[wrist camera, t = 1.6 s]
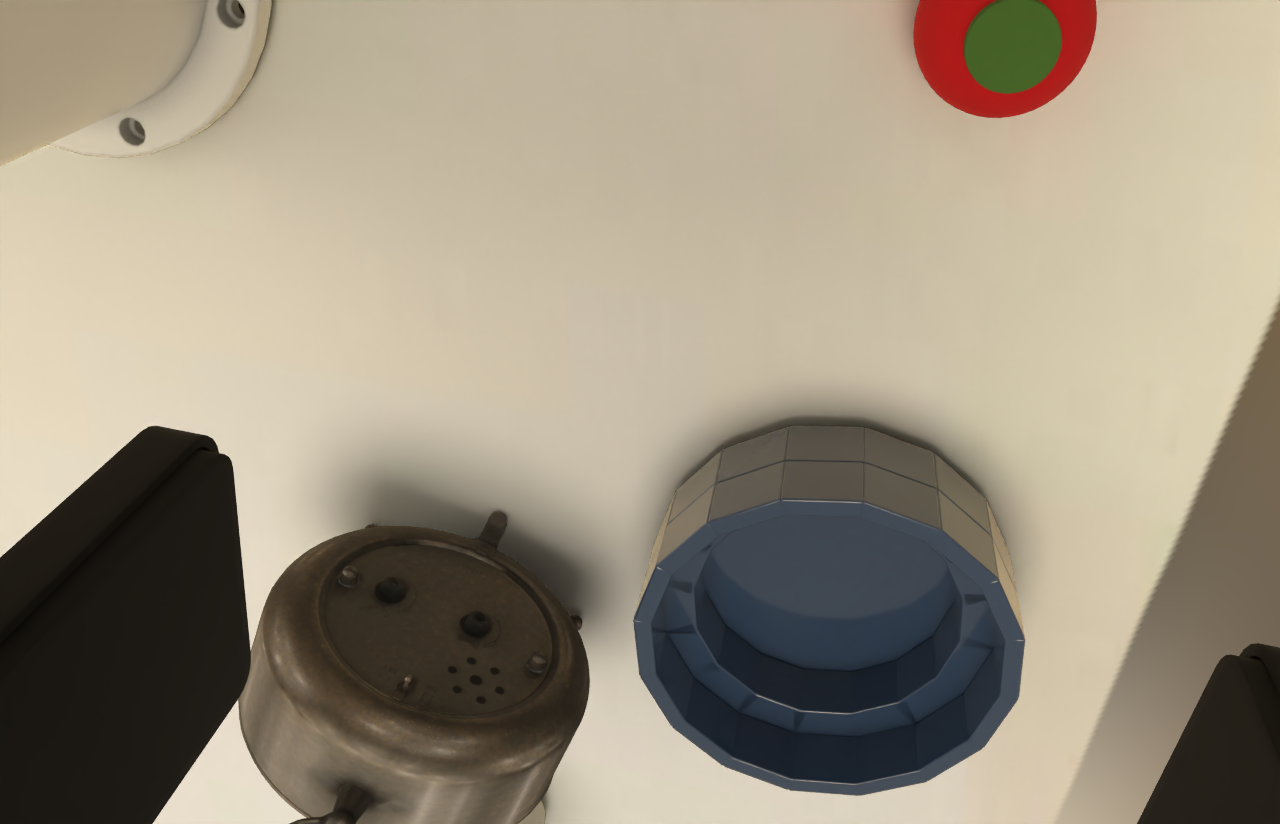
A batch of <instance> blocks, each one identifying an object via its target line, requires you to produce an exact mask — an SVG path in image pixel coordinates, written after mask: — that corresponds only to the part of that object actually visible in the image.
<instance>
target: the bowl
mask: <svg viewBox="0 0 1280 824" xmlns="http://www.w3.org/2000/svg"><path fill="white" fill-rule="evenodd" d="M633 622H634V631H635V640H636V649H637V658H638V667H639V675H640V676H641V679H642V680H643V682H644V683H645V685H646V687H647V688H648V690H649V691H650V693H651V695H652V696H653V698H654V699H655V701H656V703H657V704H658V706H659V707H660V709H661V711H662V712H663V714H664V715H665V717H666V719H667V720H668V722H669V723H670V725H671V726H672V727H673V728H674V729H675V730H676V731H678V732H679V733H680V734H682V735H683V736H684V737H686V738H687V739H688V740H690V741H691V742H692V743H693V744H695V745H696V746H697V747H699V748H700V749H701V750H703V751H704V752H705V753H707V754H708V755H709V756H711V757H712V758H713V759H715V760H716V761H717V762H718V763H720V764H721V765H723V766H725V767H727V768H729V769H732V770H735V771H738V772H740V773H743V774H746V775H749V776H751V777H754V778H757V779H759V780H762V781H765V782H768V783H770V784H773V785H776V786H779V787H781V788H784V789H787V790H788V789H789V790H791V791H804V792H816V793H829V794H842V795H855V796H858V795H860V796H861V795H866V794H871V793H876V792H881V791H885V790H890V789H895V788H900V787H905V786H909V785H914V784H919V783H924V782H927V781H929V780H931V779H932V778H934V777H936V776H937V775H939V774H941V773H942V772H944V771H946V770H947V769H949V768H951V767H952V766H954V765H956V764H958V763H959V762H961V761H963V760H964V759H966V758H968V757H969V756H971V755H973V754H974V753H976V752H978V751H979V750H981V749H982V748H983V747H985V745H986V744H987V742H988V741H989V740H990V738H991V737H992V735H993V734H994V733H995V731H996V730H997V728H998V727H999V726H1000V724H1001V723H1002V721H1003V720H1004V719H1005V717H1006V716H1007V714H1008V713H1009V711H1010V710H1011V709H1012V707H1013V706H1014V704H1015V703H1016V702H1017V700H1018V697H1019V693H1020V684H1021V674H1022V665H1023V656H1024V646H1025V636H1024V631H1023V625H1022V619H1021V614H1020V608H1019V603H1018V597H1017V592H1016V587H1015V581H1014V576H1013V570H1012V565H1011V559H1010V553H1009V551H1008V549H1007V546H1006V544H1005V542H1004V539H1003V537H1002V535H1001V532H1000V530H999V528H998V525H997V523H996V521H995V518H994V516H993V514H992V512H991V509H990V507H989V505H988V502H987V500H986V499H985V497H984V496H983V495H982V494H980V493H979V492H978V491H977V490H976V489H975V488H974V487H972V486H971V485H970V484H969V483H968V482H967V481H966V480H965V479H963V478H962V477H961V476H960V475H959V474H958V473H957V472H955V471H954V470H953V469H952V468H951V467H950V466H949V465H948V464H946V463H945V462H944V461H943V460H942V459H941V458H940V457H939V456H937V455H936V454H935V453H933V452H932V451H929V450H926V449H923V448H921V447H918V446H915V445H913V444H910V443H907V442H904V441H902V440H899V439H896V438H894V437H891V436H888V435H885V434H883V433H880V432H877V431H875V430H872V429H869V428H866V427H865V428H864V427H857V426H789V427H785V428H782V429H779V430H776V431H773V432H770V433H767V434H764V435H762V436H759V437H756V438H753V439H750V440H747V441H744V442H741V443H738V444H735V445H732V446H730V447H727V448H725V449H724V450H721V451H720V452H719V453H718V454H716V455H715V456H714V457H713V458H712V459H711V460H710V461H709V462H707V463H706V464H705V465H704V466H703V467H702V468H701V469H700V470H698V471H697V472H696V473H695V474H694V475H693V476H692V477H690V478H689V479H688V480H687V481H686V482H685V483H684V484H683V485H681V486H680V487H679V488H678V489H677V490H676V491H675V494H674V496H673V498H672V501H671V503H670V506H669V508H668V511H667V513H666V515H665V518H664V520H663V523H662V525H661V528H660V530H659V532H658V535H657V537H656V540H655V543H654V547H653V550H652V554H651V557H650V561H649V565H648V568H647V572H646V575H645V579H644V583H643V586H642V590H641V594H640V597H639V601H638V604H637V608H636V611H635V615H634V620H633Z"/></svg>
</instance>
